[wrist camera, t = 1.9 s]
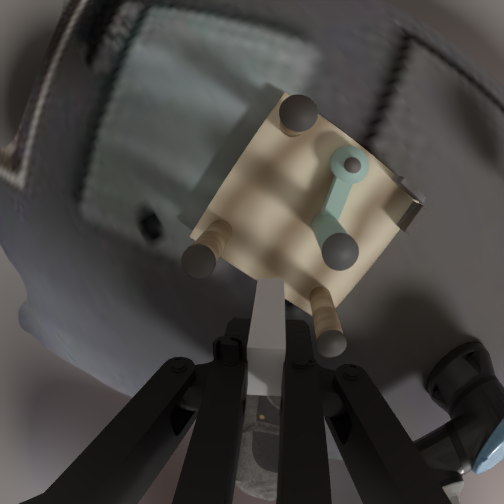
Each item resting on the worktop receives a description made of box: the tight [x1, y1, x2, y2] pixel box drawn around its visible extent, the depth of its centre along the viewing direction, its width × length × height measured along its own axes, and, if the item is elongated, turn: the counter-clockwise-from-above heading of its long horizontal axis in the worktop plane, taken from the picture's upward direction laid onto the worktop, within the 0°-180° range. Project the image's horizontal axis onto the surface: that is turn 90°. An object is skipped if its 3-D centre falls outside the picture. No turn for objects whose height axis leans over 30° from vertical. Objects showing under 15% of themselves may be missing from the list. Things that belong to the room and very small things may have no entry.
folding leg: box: [311, 146, 369, 271], centre depth 29 cm, size 12×4×11 cm, turn 162°
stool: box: [181, 92, 427, 357], centre depth 32 cm, size 22×22×14 cm
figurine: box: [235, 395, 281, 501], centre depth 36 cm, size 10×14×25 cm
